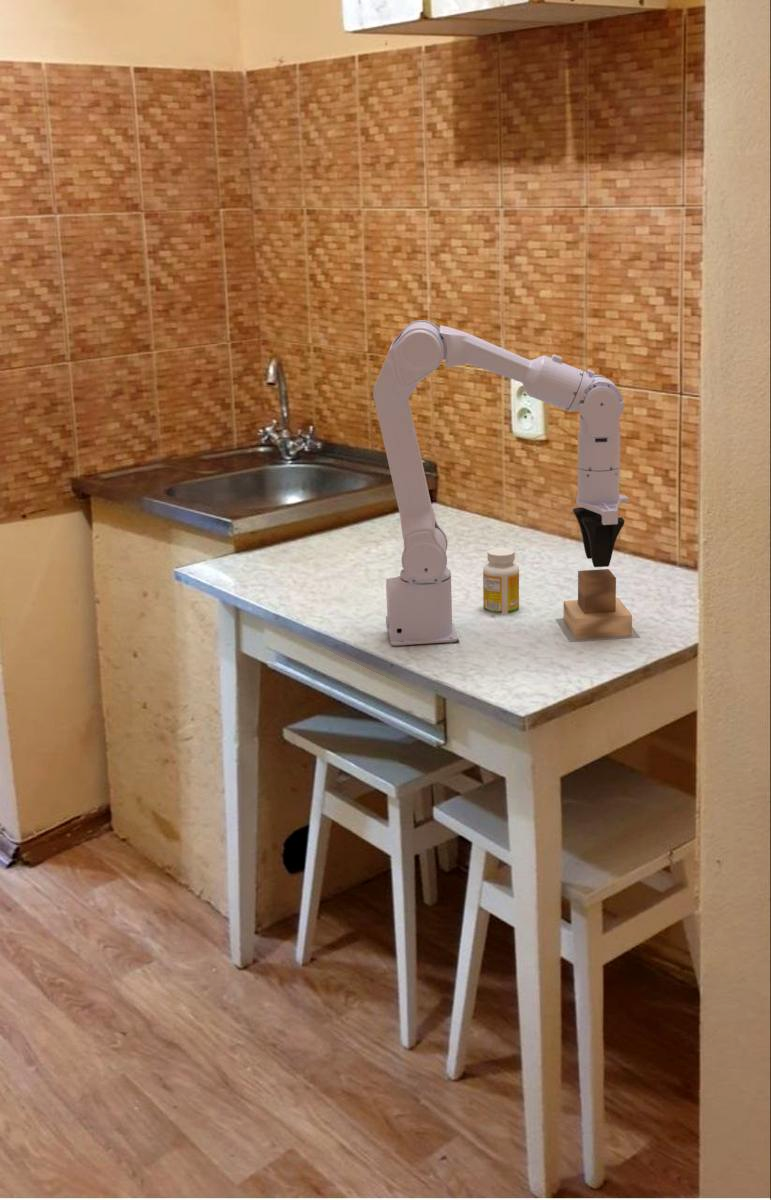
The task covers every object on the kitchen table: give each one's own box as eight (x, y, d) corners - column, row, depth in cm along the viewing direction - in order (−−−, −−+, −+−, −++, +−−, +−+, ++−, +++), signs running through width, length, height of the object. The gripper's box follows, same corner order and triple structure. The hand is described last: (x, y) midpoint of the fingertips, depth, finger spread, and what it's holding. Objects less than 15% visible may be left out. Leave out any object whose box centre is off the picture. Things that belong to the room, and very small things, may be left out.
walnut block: (584, 613, 181) (584, 579, 180) (577, 604, 186) (578, 570, 184) (615, 611, 182) (616, 577, 180) (608, 602, 186) (608, 568, 184)
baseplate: (569, 645, 180) (569, 641, 180) (555, 622, 189) (555, 618, 189) (640, 641, 180) (640, 637, 180) (622, 618, 190) (622, 614, 190)
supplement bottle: (487, 619, 192) (485, 557, 189) (480, 608, 197) (479, 547, 194) (522, 617, 192) (522, 555, 189) (515, 606, 197) (514, 545, 194)
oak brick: (575, 639, 181) (575, 618, 180) (563, 620, 188) (563, 600, 187) (631, 635, 181) (632, 615, 180) (617, 617, 189) (618, 597, 188)
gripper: (641, 476, 171) (639, 575, 175) (614, 454, 184) (613, 546, 189) (588, 479, 170) (587, 578, 175) (565, 457, 184) (565, 549, 188)
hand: (597, 562), depth 182 cm, fingers open, 4 cm apart
